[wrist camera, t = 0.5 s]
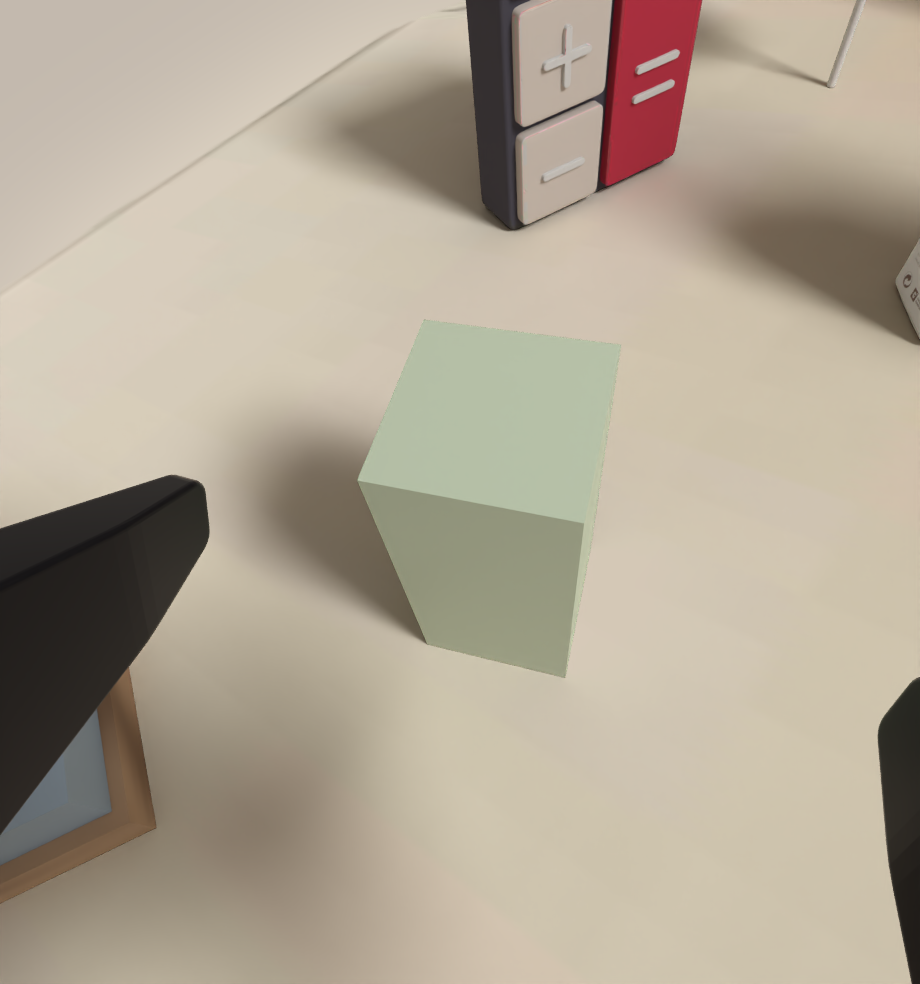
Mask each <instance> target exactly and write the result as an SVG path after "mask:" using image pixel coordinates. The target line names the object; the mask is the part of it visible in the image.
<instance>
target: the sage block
mask: <svg viewBox="0 0 920 984" xmlns="http://www.w3.org/2000/svg"><path fill="white" fill-rule="evenodd" d="M620 350H621V345H619V344H611V343H603V342H595V341H587V340H580V339H572V338H564V337H556V336H548V335H540V334H533V333H525V332H517V331H509V330H501V329H494V328H486V327H478V326H470V325H462V324H454V323H447V322H439V321H431V320H424V321H423V323H422V325H421V328H420V330H419V333H418V335H417V337H416V340H415V342H414V345H413V347H412V349H411V352H410V354H409V357H408V359H407V361H406V364H405V366H404V369H403V371H402V373H401V376H400V378H399V381H398V383H397V386H396V388H395V390H394V393H393V395H392V398H391V400H390V402H389V405H388V407H387V410H386V412H385V414H384V417H383V419H382V422H381V424H380V426H379V429H378V431H377V434H376V436H375V438H374V441H373V443H372V446H371V448H370V450H369V453H368V455H367V458H366V460H365V462H364V465H363V467H362V470H361V472H360V474H359V477H358V479H357V481H358V484H359V486H360V488H361V491H362V493H363V495H364V498H365V500H366V502H367V505H368V507H369V509H370V512H371V514H372V516H373V519H374V521H375V523H376V526H377V528H378V530H379V533H380V535H381V537H382V540H383V542H384V544H385V547H386V549H387V551H388V554H389V556H390V558H391V561H392V563H393V565H394V568H395V570H396V572H397V575H398V577H399V579H400V582H401V584H402V586H403V589H404V591H405V593H406V596H407V598H408V600H409V603H410V605H411V607H412V610H413V612H414V614H415V617H416V619H417V621H418V624H419V626H420V628H421V631H422V633H423V635H424V638H425V640H426V642H427V644H428V645H432V646H436V647H440V648H444V649H449V650H453V651H457V652H461V653H465V654H469V655H473V656H477V657H481V658H486V659H490V660H494V661H498V662H502V663H506V664H510V665H514V666H519V667H523V668H527V669H531V670H535V671H539V672H543V673H547V674H551V675H556V676H560V677H564V678H565V676H566V671H567V666H568V661H569V656H570V651H571V646H572V641H573V636H574V631H575V626H576V620H577V615H578V610H579V605H580V600H581V595H582V590H583V585H584V580H585V575H586V570H587V565H588V560H589V555H590V549H591V543H592V536H593V529H594V523H595V516H596V509H597V503H598V496H599V489H600V483H601V476H602V469H603V463H604V456H605V450H606V443H607V436H608V430H609V423H610V416H611V410H612V403H613V396H614V390H615V383H616V376H617V370H618V363H619V356H620Z"/></svg>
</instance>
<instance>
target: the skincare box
mask: <svg viewBox="0 0 920 984" xmlns="http://www.w3.org/2000/svg"><path fill="white" fill-rule="evenodd" d="M895 283H896V286H897V288H898V291H899V294H900V297H901V299H902V302H903V304H904V307H905V309H906V311H907V313H908V315H909V317H910V320H911V322H912V325H913V327H914V329H915V331H916V333H917V335H918V337H919V339H920V238H919V240H918V242H917V244H916V246H915V247H914V249H913V251H912V252H911V254H910V256H909V257H908V259H907V261H906V263H905V264H904V266H903V268H902V269H901V271H900V273H899V274H898V276H897V278H896V281H895Z"/></svg>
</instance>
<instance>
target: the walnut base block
mask: <svg viewBox="0 0 920 984" xmlns="http://www.w3.org/2000/svg"><path fill="white" fill-rule="evenodd" d="M97 713H98V720H99V727H100V734H101V741H102V748H103V755H104V761H105V768H106V775H107V782H108V789H109V796H110V802H111V809H112V812H110V813H108V814H106V815H104V816H102V817H99V818H97V819H95V820H93V821H91V822H89V823H87V824H85V825H83V826H81V827H79V828H77V829H75V830H73V831H71V832H69V833H67V834H64V835H62V836H60V837H58V838H56V839H54V840H52V841H50V842H48V843H46V844H44V845H42V846H40V847H38V848H36V849H34V850H31V851H29V852H27V853H25V854H23V855H21V856H19V857H17V858H15V859H13V860H11V861H9V862H7V863H5V864H3V865H1V866H0V903H2V902H4V901H6V900H8V899H10V898H12V897H14V896H17V895H19V894H21V893H23V892H25V891H27V890H29V889H31V888H33V887H35V886H37V885H39V884H41V883H43V882H45V881H48V880H50V879H52V878H54V877H56V876H58V875H60V874H62V873H64V872H66V871H68V870H70V869H72V868H74V867H76V866H79V865H81V864H83V863H85V862H87V861H89V860H91V859H93V858H95V857H97V856H99V855H101V854H103V853H105V852H107V851H110V850H112V849H114V848H116V847H118V846H120V845H122V844H124V843H126V842H128V841H130V840H132V839H134V838H136V837H138V836H141V835H143V834H145V833H147V832H149V831H151V830H153V829H155V828H156V822H155V816H154V811H153V805H152V799H151V793H150V787H149V782H148V776H147V770H146V764H145V759H144V753H143V747H142V741H141V735H140V730H139V724H138V718H137V712H136V706H135V701H134V695H133V689H132V683H131V678H130V672H129V667H128V668H127V670H126V671H125V672H124V674H123V675H122V676H121V678H120V679H119V680H118V682H117V683H116V684H115V685H114V687H113V688H112V689H111V691H110V692H109V693H108V695H107V696H106V697H105V699H104V700H103V701H102V703H101V704H100V705H99V706H98V708H97Z"/></svg>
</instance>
